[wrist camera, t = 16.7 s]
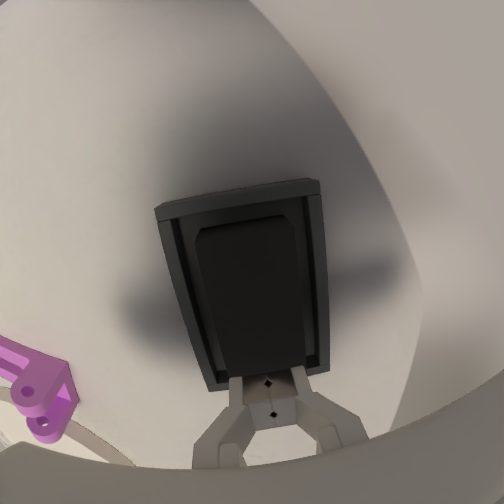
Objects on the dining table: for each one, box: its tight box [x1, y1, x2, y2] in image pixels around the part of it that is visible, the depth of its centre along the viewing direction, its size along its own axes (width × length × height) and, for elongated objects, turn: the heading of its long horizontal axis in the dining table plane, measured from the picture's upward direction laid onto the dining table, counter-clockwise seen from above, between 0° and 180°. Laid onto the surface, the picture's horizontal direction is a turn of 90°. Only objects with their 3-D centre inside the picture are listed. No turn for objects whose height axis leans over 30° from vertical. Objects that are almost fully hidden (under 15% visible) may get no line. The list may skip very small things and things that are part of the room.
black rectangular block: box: [194, 215, 307, 379], centre depth 17 cm, size 10×5×3 cm, turn 9°
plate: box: [0, 387, 135, 466], centre depth 24 cm, size 28×28×2 cm
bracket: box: [0, 336, 79, 444], centre depth 16 cm, size 13×6×7 cm, turn 80°
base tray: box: [154, 178, 330, 392], centre depth 18 cm, size 14×9×2 cm
